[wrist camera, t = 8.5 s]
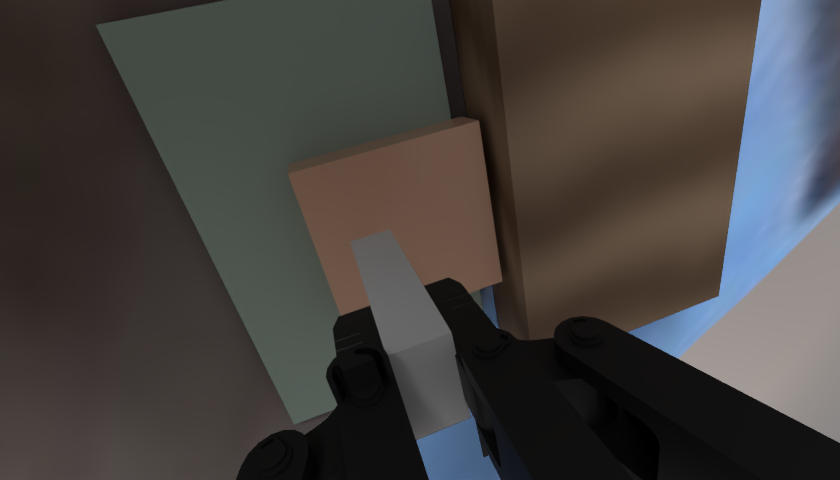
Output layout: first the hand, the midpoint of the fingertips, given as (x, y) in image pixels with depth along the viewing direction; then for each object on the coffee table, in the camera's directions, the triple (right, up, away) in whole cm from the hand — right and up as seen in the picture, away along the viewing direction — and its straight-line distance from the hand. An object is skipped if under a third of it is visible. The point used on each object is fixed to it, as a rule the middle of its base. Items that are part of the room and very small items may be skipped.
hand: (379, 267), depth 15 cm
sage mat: (-2, +2, +5) cm, 5 cm away
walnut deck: (+10, +5, +7) cm, 13 cm away
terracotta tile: (+1, +2, +4) cm, 5 cm away
